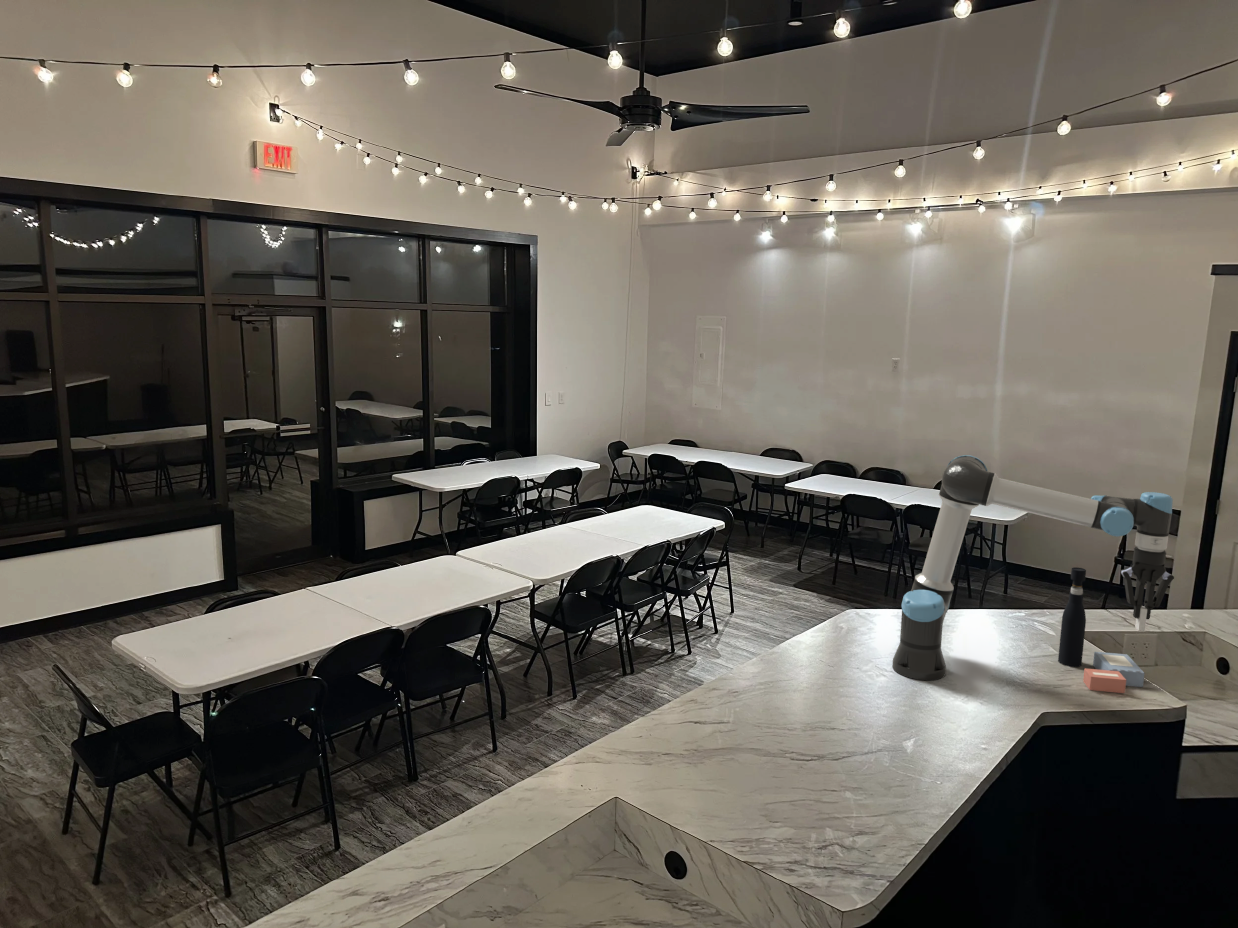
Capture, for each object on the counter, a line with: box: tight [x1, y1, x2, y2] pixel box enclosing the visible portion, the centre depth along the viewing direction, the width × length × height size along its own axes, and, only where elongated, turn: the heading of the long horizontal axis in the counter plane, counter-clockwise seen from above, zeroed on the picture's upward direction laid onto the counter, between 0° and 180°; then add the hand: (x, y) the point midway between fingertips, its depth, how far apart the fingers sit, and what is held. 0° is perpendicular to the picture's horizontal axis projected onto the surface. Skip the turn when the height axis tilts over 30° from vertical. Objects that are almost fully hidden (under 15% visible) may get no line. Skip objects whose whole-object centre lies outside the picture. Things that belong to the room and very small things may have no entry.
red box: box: [1082, 668, 1127, 694], centre depth 236 cm, size 9×6×4 cm, turn 76°
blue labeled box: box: [1092, 651, 1145, 688], centre depth 245 cm, size 9×14×4 cm, turn 166°
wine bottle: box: [1057, 566, 1087, 668], centre depth 252 cm, size 6×6×30 cm
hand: (1139, 629), depth 232 cm, fingers closed
